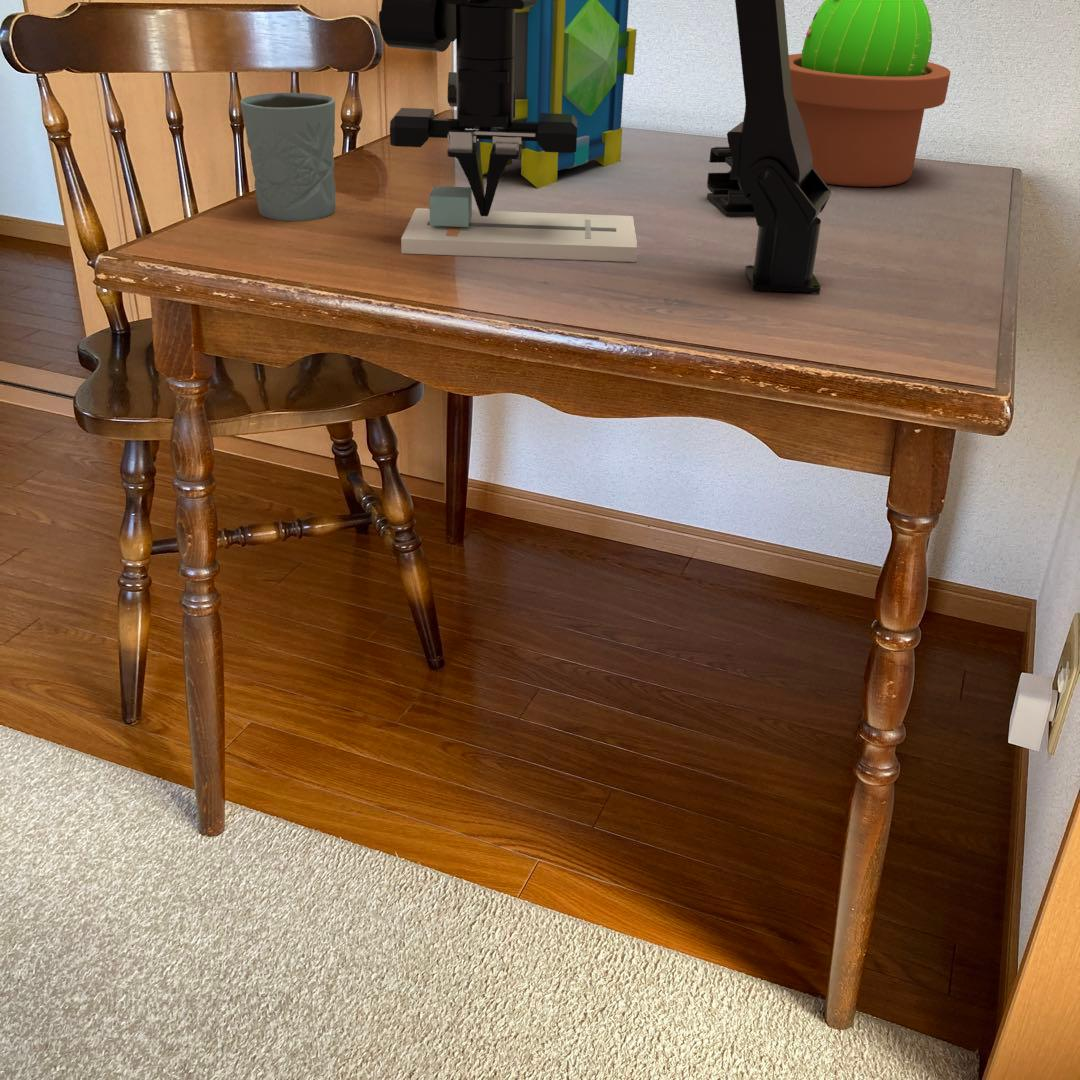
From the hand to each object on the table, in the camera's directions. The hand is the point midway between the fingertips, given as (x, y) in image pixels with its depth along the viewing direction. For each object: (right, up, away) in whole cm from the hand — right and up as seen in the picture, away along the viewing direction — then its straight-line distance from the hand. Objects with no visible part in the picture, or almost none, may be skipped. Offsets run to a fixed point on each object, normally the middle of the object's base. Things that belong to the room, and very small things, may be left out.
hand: (484, 215), depth 119 cm
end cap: (+30, +6, +17) cm, 35 cm away
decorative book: (+7, +15, +31) cm, 35 cm away
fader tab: (-4, 0, 0) cm, 4 cm away
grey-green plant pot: (-22, +3, +9) cm, 24 cm away
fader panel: (+4, -2, +1) cm, 5 cm away
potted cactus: (+47, +15, +33) cm, 60 cm away
